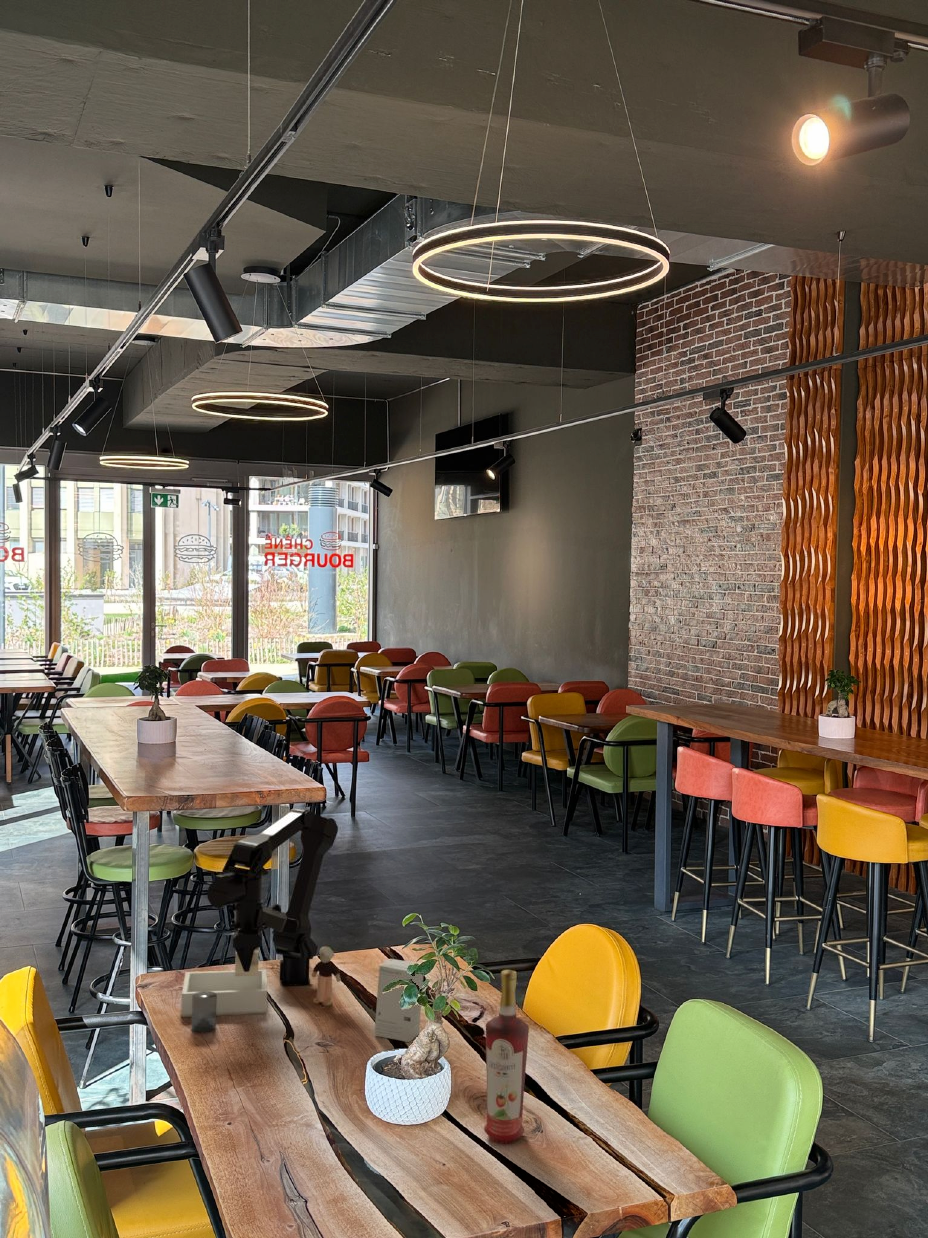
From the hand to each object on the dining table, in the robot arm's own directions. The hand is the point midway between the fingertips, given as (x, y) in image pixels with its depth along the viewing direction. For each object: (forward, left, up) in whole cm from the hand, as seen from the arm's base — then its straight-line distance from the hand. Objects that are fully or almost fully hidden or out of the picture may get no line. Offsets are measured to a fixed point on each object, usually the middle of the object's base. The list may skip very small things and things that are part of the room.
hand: (246, 967), depth 243 cm
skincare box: (-31, +22, -8) cm, 39 cm away
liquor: (-43, +68, -8) cm, 81 cm away
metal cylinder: (+9, +14, -8) cm, 18 cm away
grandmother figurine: (-17, +2, -8) cm, 19 cm away
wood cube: (0, 0, -1) cm, 1 cm away
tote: (+5, 0, -8) cm, 9 cm away
